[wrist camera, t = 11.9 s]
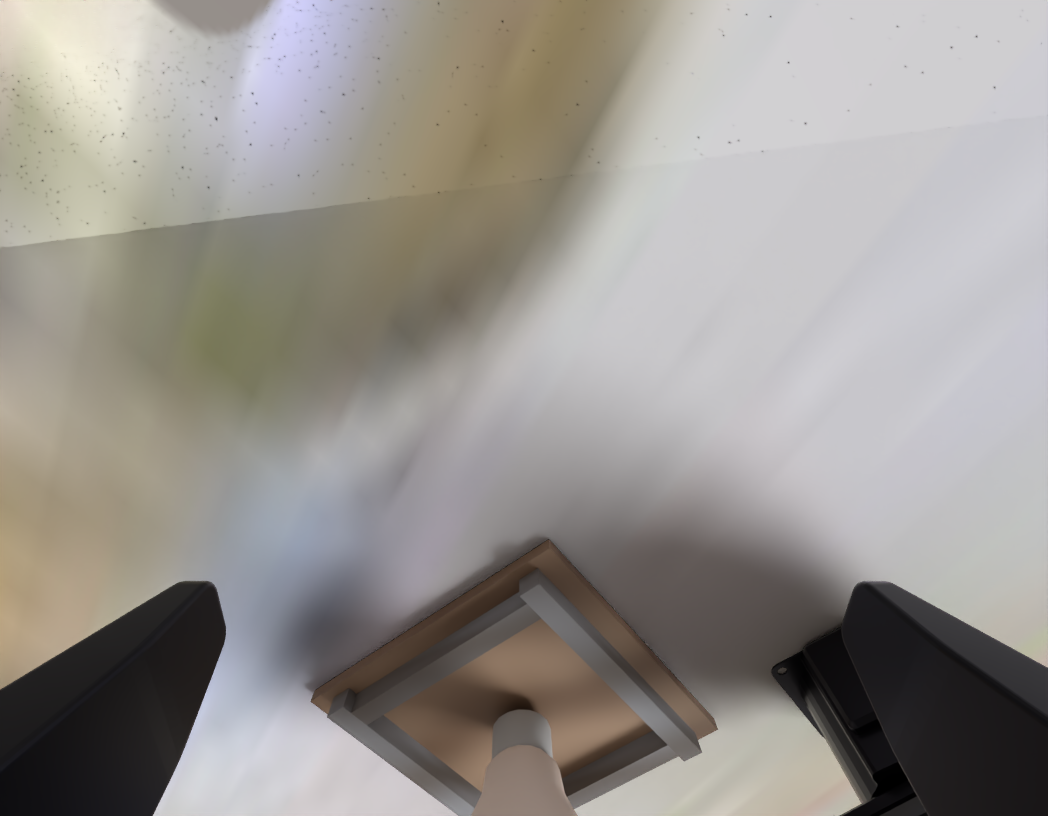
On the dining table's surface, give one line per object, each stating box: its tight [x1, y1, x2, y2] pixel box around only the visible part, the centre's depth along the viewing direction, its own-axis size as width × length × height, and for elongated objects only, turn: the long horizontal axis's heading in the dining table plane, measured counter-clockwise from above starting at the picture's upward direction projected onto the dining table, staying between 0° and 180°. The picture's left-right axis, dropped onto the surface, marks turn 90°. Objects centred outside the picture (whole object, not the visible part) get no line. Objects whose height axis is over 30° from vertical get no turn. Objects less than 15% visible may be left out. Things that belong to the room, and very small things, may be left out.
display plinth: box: [311, 540, 718, 816], centre depth 26 cm, size 14×14×2 cm
